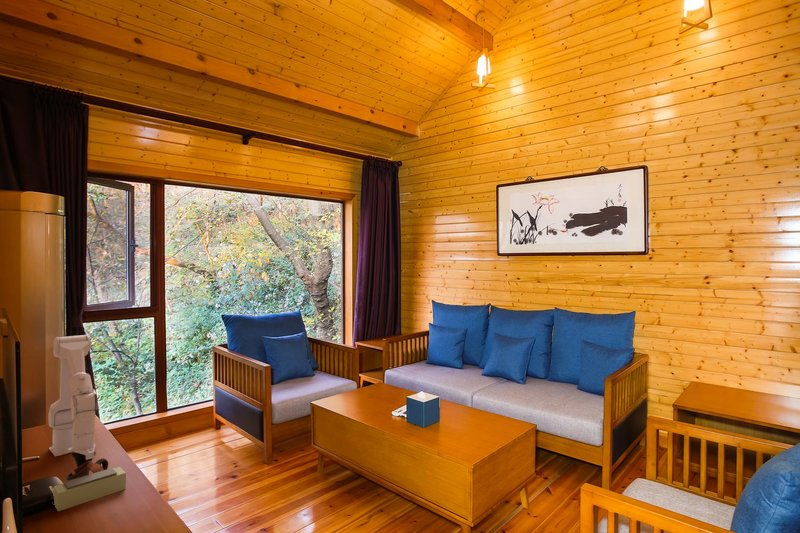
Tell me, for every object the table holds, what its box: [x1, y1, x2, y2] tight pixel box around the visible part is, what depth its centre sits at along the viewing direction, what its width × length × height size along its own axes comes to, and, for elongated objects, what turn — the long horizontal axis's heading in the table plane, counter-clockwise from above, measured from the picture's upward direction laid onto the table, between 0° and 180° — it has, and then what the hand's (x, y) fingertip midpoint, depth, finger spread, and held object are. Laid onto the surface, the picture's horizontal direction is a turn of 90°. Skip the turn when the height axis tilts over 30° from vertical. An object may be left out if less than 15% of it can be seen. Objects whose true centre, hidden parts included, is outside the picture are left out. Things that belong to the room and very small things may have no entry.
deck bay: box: [48, 466, 127, 512], centre depth 133 cm, size 11×17×6 cm, turn 139°
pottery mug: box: [66, 457, 109, 481], centre depth 138 cm, size 12×10×8 cm
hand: (83, 474), depth 141 cm, fingers closed
